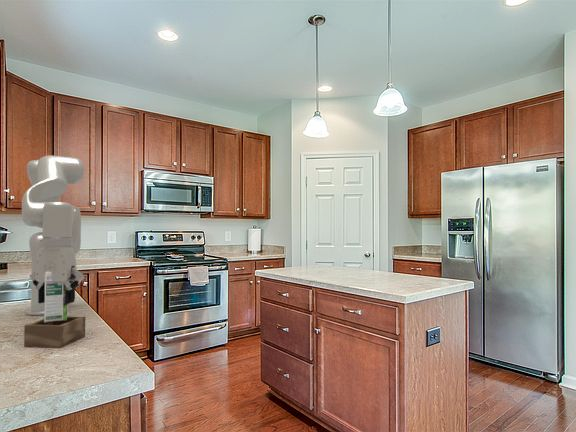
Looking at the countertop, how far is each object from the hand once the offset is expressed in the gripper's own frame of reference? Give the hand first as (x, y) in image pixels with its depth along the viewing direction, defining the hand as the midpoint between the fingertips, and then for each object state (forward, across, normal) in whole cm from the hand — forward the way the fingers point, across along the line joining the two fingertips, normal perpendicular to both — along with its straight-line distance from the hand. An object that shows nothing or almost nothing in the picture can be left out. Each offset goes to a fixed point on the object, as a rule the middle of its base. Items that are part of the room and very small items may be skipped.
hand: (56, 302), depth 110 cm
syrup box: (+5, 0, 0) cm, 5 cm away
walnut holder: (+12, 0, 0) cm, 12 cm away
